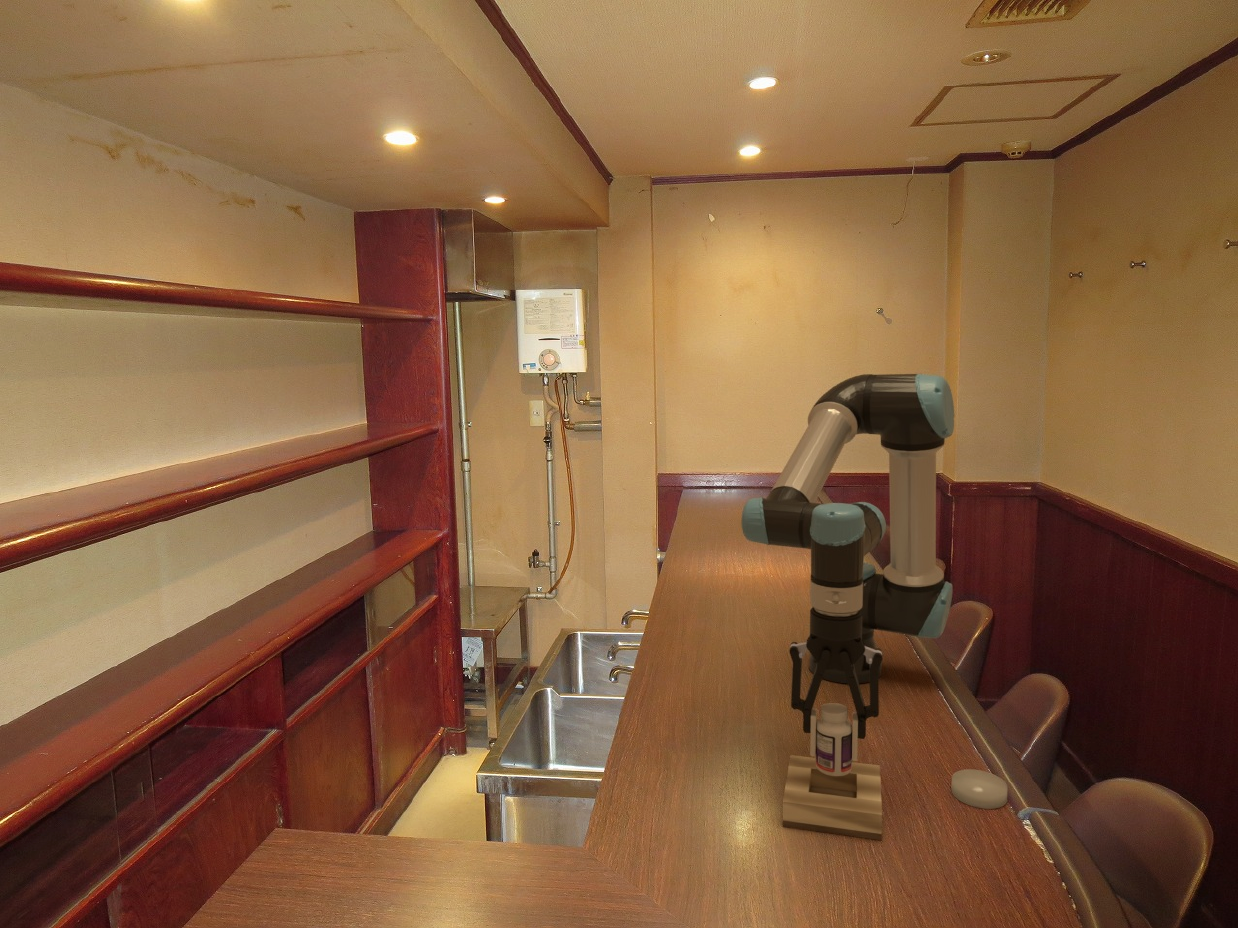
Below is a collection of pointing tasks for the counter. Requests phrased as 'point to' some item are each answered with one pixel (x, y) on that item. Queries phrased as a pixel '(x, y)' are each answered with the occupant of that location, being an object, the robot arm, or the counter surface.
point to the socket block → (833, 799)
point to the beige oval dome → (979, 789)
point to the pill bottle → (834, 740)
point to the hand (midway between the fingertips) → (833, 753)
